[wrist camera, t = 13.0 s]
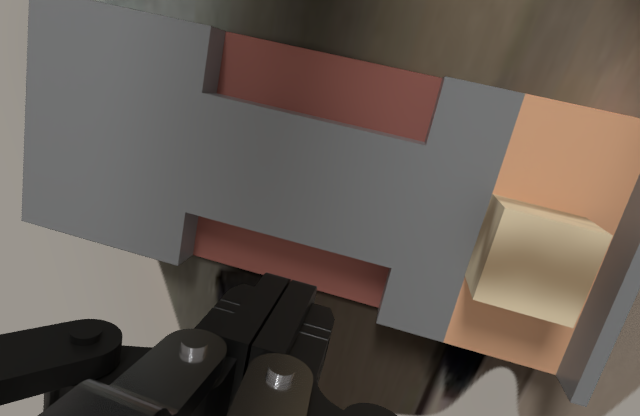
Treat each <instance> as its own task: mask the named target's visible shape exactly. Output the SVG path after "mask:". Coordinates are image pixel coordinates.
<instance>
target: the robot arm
mask: <svg viewBox="0 0 640 416" xmlns="http://www.w3.org/2000/svg"><path fill="white" fill-rule="evenodd" d="M316 292H317V286H314V285H310V284H307V283H303V282H300V281H296V280H291V279H289V278H285V277H281V276H278V275H274V274H271V273H267V272H266V273H265V274H264V275H263V276H262V278H261V279H260V280H259V281H258V283H257V284H256V285H255V287H253V286H250V285H246V284H241V285H239V286H236V287H234V288H231V289H229V290H228V291H227V293H226V294H225V295H224V296H223V297H222V298H221V300H219V301H218V303H217V304H216V305H215V307H214V308H212V309H211V310H210V311H209V313H208V314H207V315H206V316H205V317H204V318H203V319H202V320H201V321H200V323H199V324H198V325H197V326H196V327H195V328H194V329H183V330H178V331H175V332H173V333H171V334H169V335H168V336H166V337H165V338H164V339H163V340H162V341H160V342H159V343H158V344H157V345H156V346H154V347H153V348H150V347H149V348H148V347H135V346H122V332H121V330H120V329H119V328H118V327H117V326H116V325H114V324H112V323H110V322H107V321H103V320H97V319H82V320H75V321H70V322H64V323H59V324H54V325H49V326H43V327H38V328H33V329H27V330H22V331H17V332H12V333H6V334H1V335H0V405H4V404H7V403H11V402H14V401H18V400H22V399H25V398H29V397H32V396H36V395H40V394H43V393H44V410H43V412H42V413H41V414H39V415H38V416H397V415H396V414H394V413H393V412H391V411H390V410H388V409H386V408H384V407H381V406H379V405H375V404H370V403H357V404H353V405H350V406H349V407H347V408H346V409H344V410H342V409H340V408H339V407H337V406H336V405H334V404H333V403H331V402H330V401H329V400H328V399H327V398H326V397H325V396H324V395H323V394H322V393H321V391H320V389H319V387H318V381H319V378H320V375H321V371H322V368H323V364H324V360H325V356H326V352H327V348H328V344H329V340H330V336H331V332H332V328H333V324H334V320H335V319H334V317H333V314H332V312H331V309H330V308H328V307H324V306H321V305H317V304H314V301H315V296H316Z"/></svg>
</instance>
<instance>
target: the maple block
mask: <svg viewBox="0 0 640 416" xmlns="http://www.w3.org/2000/svg"><path fill="white" fill-rule="evenodd" d="M612 237H613V235H611V234H610V233H608V232H607V231H605V230H604V229H602V228H601V227H599V226H598V225H596V224H595V223H593V222H592V221H590V220H589V219H587V218H586V217H582V216H578V215H574V214H570V213H566V212H562V211H558V210H554V209H550V208H547V207H543V206H539V205H535V204H531V203H527V202H523V201H519V200H515V199H511V198H507V197H503V196H499V195H495V194H492V196H491V199H490V202H489V205H488V208H487V211H486V214H485V217H484V220H483V223H482V226H481V229H480V232H479V235H478V238H477V241H476V243H475V246H474V249H473V252H472V255H471V258H470V261H469V264H468V267H467V270H466V273H465V278H466V281H467V284H468V287H469V290H470V293H471V296H472V299H473V300H475V301H479V302H482V303H486V304H489V305H493V306H496V307H500V308H504V309H507V310H511V311H514V312H518V313H521V314H525V315H528V316H532V317H535V318H539V319H542V320H546V321H549V322H553V323H557V324H560V325H564V326H567V327H571V328H574V325H575V323H576V321H577V318H578V316H579V314H580V311H581V309H582V307H583V304H584V302H585V300H586V297H587V295H588V293H589V290H590V288H591V286H592V283H593V281H594V279H595V276H596V274H597V272H598V269H599V267H600V265H601V262H602V260H603V258H604V255H605V253H606V251H607V248H608V246H609V244H610V241H611V239H612Z"/></svg>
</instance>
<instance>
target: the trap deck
mask: <svg viewBox="0 0 640 416" xmlns="http://www.w3.org/2000/svg"><path fill="white" fill-rule="evenodd" d="M27 47H28V48H27V76H26V105H25V135H24V164H23V166H24V167H23V193H22V194H23V195H22V221H24V222H28V223H31V224H35V225H38V226H42V227H45V228H49V229H52V230H55V231H59V232H63V233H66V234H69V235H73V236H76V237H80V238H83V239H87V240H90V241H94V242H97V243H101V244H104V245H107V246H111V247H114V248H118V249H121V250H125V251H128V252H132V253H135V254H139V255H142V256H145V257H149V258H153V259H156V260H159V261H163V262H166V263H170V264H173V265H177V266H178V265H180V264H181V263H182V262H184V261H185V260H187V259H188V258H189V257H191V256H192V255H195V256H199V257H202V258H206V259H209V260H213V261H216V262H220V263H223V264H227V265H230V266H234V267H237V268H241V269H244V270H248V271H251V272H255V273H258V274H262V275H264V274H265V273H266V272H267V273H271V274H274V275H278V276H281V277H285V278H289V279H291V280H296V281H300V282H303V283H307V284H310V285H314V286H317V290H318V291H322V292H325V293H329V294H332V295H336V296H339V297H343V298H346V299H350V300H353V301H357V302H360V303H364V304H367V305H371V306H374V307H378V314H377V321H376V323H377V324H381V325H384V326H388V327H391V328H395V329H398V330H402V331H405V332H409V333H412V334H416V335H419V336H422V337H426V338H429V339H433V340H436V341H440V342H443V343H447V344H450V345H454V346H457V347H461V348H464V349H468V350H471V351H474V352H478V353H481V354H485V355H488V356H492V357H495V358H499V359H502V360H506V361H509V362H513V363H516V364H519V365H523V366H526V367H530V368H533V369H537V370H540V371H544V372H547V373H551V374H554V375H556V377H557V378H558V380H559V382H560V384H561V386H562V388H563V390H564V392H565V393H566V395H567V397H568V399H569V401H570V402H571V403H574V404H578V405H581V406H585V407H587V404H588V402H589V400H590V398H591V395H592V393H593V391H594V389H595V387H596V384H597V382H598V380H599V378H600V375H601V373H602V371H603V369H604V367H605V364H606V362H607V360H608V358H609V355H610V353H611V351H612V349H613V347H614V344H615V342H616V340H617V338H618V335H619V333H620V331H621V329H622V327H623V324H624V322H625V320H626V318H627V315H628V313H629V311H630V309H631V307H632V304H633V302H634V300H635V298H636V295H637V293H638V291H639V289H640V118H636V117H632V116H627V115H622V114H618V113H613V112H608V111H604V110H599V109H594V108H590V107H585V106H580V105H576V104H571V103H566V102H562V101H557V100H553V99H548V98H543V97H539V96H534V95H529V94H525V93H520V92H515V91H511V90H506V89H501V88H497V87H492V86H488V85H483V84H478V83H474V82H469V81H464V80H460V79H455V78H450V77H446V76H445V77H443V78H439V77H435V76H430V75H425V74H421V73H416V72H412V71H407V70H402V69H398V68H393V67H388V66H384V65H379V64H374V63H370V62H365V61H361V60H356V59H351V58H347V57H342V56H337V55H333V54H328V53H324V52H319V51H314V50H310V49H305V48H300V47H296V46H291V45H286V44H282V43H277V42H273V41H268V40H263V39H259V38H254V37H249V36H245V35H240V34H236V33H231V32H226V31H223V30H221V29H218V28H215V27H212V26H209V25H204V24H199V23H195V22H190V21H186V20H181V19H176V18H172V17H167V16H162V15H158V14H153V13H148V12H144V11H139V10H134V9H130V8H125V7H120V6H116V5H111V4H107V3H102V2H97V1H93V0H29V17H28V46H27ZM492 194H495V195H499V196H503V197H507V198H511V199H515V200H519V201H523V202H527V203H531V204H535V205H539V206H543V207H547V208H550V209H554V210H558V211H562V212H566V213H570V214H574V215H578V216H582V217H586V218H587V219H589V220H590V221H592V222H593V223H595V224H596V225H598V226H599V227H601V228H602V229H604V230H605V231H607V232H608V233H610V234H611V235H613V237H612V239H611V241H610V244H609V246H608V248H607V251H606V253H605V255H604V258H603V260H602V262H601V265H600V267H599V269H598V272H597V274H596V276H595V279H594V281H593V283H592V286H591V288H590V290H589V293H588V295H587V297H586V300H585V302H584V304H583V307H582V309H581V311H580V314H579V316H578V318H577V321H576V323H575V325H574V328H571V327H567V326H564V325H560V324H557V323H553V322H549V321H546V320H542V319H539V318H535V317H532V316H528V315H525V314H521V313H518V312H514V311H511V310H507V309H504V308H500V307H496V306H493V305H489V304H486V303H482V302H479V301H475V300H473V299H472V296H471V293H470V290H469V287H468V284H467V281H466V278H465V273H466V270H467V267H468V264H469V261H470V258H471V255H472V252H473V249H474V246H475V243H476V241H477V238H478V235H479V232H480V229H481V226H482V223H483V220H484V217H485V214H486V211H487V208H488V205H489V202H490V199H491V196H492Z"/></svg>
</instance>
